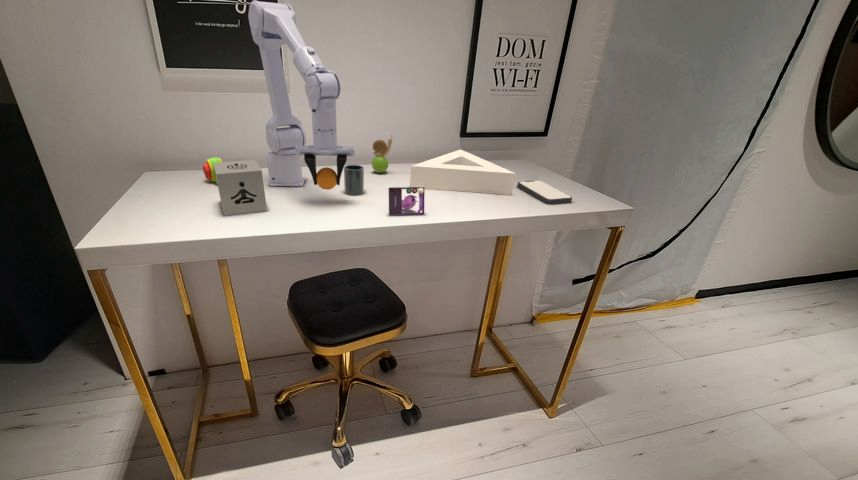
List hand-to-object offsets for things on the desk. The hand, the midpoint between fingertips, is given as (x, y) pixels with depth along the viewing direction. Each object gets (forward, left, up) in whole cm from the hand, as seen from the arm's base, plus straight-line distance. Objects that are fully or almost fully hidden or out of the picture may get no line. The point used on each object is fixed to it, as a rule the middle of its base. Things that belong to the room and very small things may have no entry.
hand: (326, 183), depth 102 cm
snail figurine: (+16, +28, -5) cm, 33 cm away
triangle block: (+36, +17, -5) cm, 40 cm away
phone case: (+63, +8, -5) cm, 64 cm away
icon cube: (-21, -4, -5) cm, 22 cm away
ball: (0, 0, -1) cm, 1 cm away
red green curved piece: (-35, +20, -5) cm, 41 cm away
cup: (+7, +8, -5) cm, 12 cm away
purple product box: (+20, -7, -5) cm, 22 cm away
